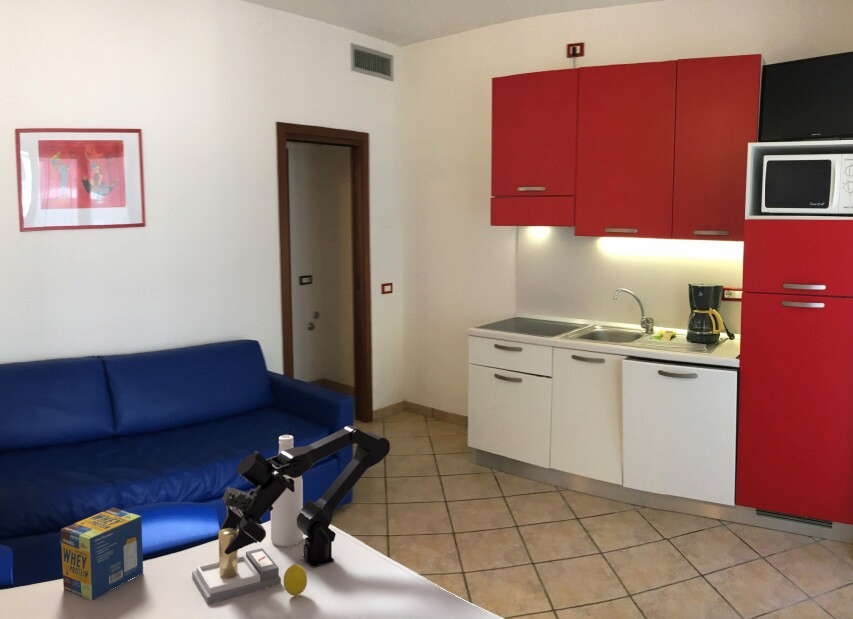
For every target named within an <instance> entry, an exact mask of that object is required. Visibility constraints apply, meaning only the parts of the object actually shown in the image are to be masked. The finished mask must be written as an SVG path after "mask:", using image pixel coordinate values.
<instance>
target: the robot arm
mask: <svg viewBox="0 0 853 619" xmlns="http://www.w3.org/2000/svg"><path fill="white" fill-rule="evenodd" d="M353 444H356V447H355V448H356V449H355V453H354V456H353V458H352V459H351V460H350V462H349V463H348V464H347V465H346V466H345V468H343V470H342V471H341V472H340V474H339V475H338V476H337V477H336V479H335V480H334V481H333V482H332V484H331V485H330V486H329V487H328V489H326V491H325V492H323V495H322V496H321V497H320V498H319V499H317V500H315V501H312V500H311V499H308V500H307V501H306V502H305V504H304V505H303V508H302V509H301V510H299V515H298V516H297V519H296V520H297V527H298V528H299V529H300V530H301V531H302V532H303V536H304V535H305V536H307V537H304V538H305V539H304V540H305V541H304V544H303V548H302V549H303V556H302V559H303V560H305V562H306V563H307V564H308V565H309V566H310V567H311V568H315V567H319V566H323V565H326V564H330V563H333V562H335V559H334V557H333V556H332V554H333V553H332V552H333V551H332V548H333V546H332V542H335V538H336V536H337V535H336V534H337V533H336V532H335V531H334V530H332V529H330V525H331V523H332V521H333V516H334V513H335V510H337V508H338V506H340V504H341V503H342V502H343V500H344V499H345V498H346V496H347V495H348V494H349V493H350V492H351V490H352V489H354V487H355V485H356V484H357V483H358V482H359V481H360V479H361V478H362V477H363V475H364V474H365V473H366V472H367V471H368V470H369V469H370V468H371V467H374V466H376V465H379V463H381V461H383V460H384V459H385V458H386V457H387V456H388V455H389V453H390V452H391V444H390V441H389V440H388V439H387V437H384V436H381V435H379V433H378V434H377V433H376V432H364V431H362V430H361V429H360V428H358V427H356V426H354V425H346V426H344V428H342V429H339V430H338V431H335V432H334V433H331V434H329V435H328V436H326V437H323V438H321V439H319V440H317V441H314V442H313V443H310V444H308V445H305V446H304V445H303V446H296V447H294V446H293V448H291V449H287V450H284V451H282V452H281V453H280V454H279V453H278V454H277V455H275V456H272V457H270V458H265V457H264V456H263V455H262V454H261V453H260V452H259V451H257V450H255V451H254V452H253V453H252V454H249V455H247V456H246V457H244V458H242V460H240V462H239V464H238V466H237V469H236V473H237V474H238V475H240V476H241V477H242V478H243V479H244V480H246V481H247V482H249V484H251V485H252V486H254V487H257V488H251V489H249V490H248V491H244V490H240V489H238V488H234V487H230V486H227V487H226V489H225V492H224V494H223V496H222V501H223V503H224V504H225V508H226V517H225V519H224V521H223V523H222V525H221V527H220V529H219V531H220V530H222V529H226V528H233V529H236V530H237V534H236V535H235V536H234V538H233V539H232V541H231V542H230V544H229V545H228V546H227V548H226V550H225V551H224V552H225V553H226V554H227V555H228V554H230V553H232V552H234V551H236V550H237V551H238V550H241V549H243V548H245V547H247V546H250V545H253V544H258V543H262V542H263V541H264V540H265V538H266V537H267V531H266V530H265V528H264V526H263V525H262V523H263V520H262V518H263V516H264V515H265V514H266V513H267V512H268V511H270V512H271V511H272V510H273V506H272V505H273V504H274V503H275V501H276V500H277V499H278V498H279V497H280V496H281V495H282V493H283V492H284V491H285V490H286V489H287V488H288V489H289V490H290V491H292V492H294V491H295V488H294V483H295V481H294V480H293V479H292V478H297V477H300V476H303V475H304V474H306V473H308V472H309V471H310V470H311V468H313V466H314V465H315V464H316V463H318V462H319V461H321V460H323V459H325V458H327V457H329V456H332V455H333V454H335V453H337V452H339V451H341V450H343V449H346V448H348V447H350V446H352V445H353ZM275 471H276V472H278V473H277V474H274V472H275ZM283 475H288V476H289V477H292V478H289V479H287V478H286V477H284V476H283ZM216 538H217V539H219V532H218V533H217V535H216Z"/></svg>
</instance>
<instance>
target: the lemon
mask: <svg viewBox="0 0 853 619" xmlns="http://www.w3.org/2000/svg"><path fill="white" fill-rule="evenodd" d="M307 583H308V576H307V572H306V570H305V569H304V567H303V566H301V565H299V564H296V563H294V564H292V565H290V566H288V567H287V569H286V570H285V572H284V574H283V586H284V590H285V592H286V593H287V594H289V595H291V596H294V597H297V596H298V595H301V594H302V593H303V592H304V590H306V587H307V585H308V584H307Z"/></svg>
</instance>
